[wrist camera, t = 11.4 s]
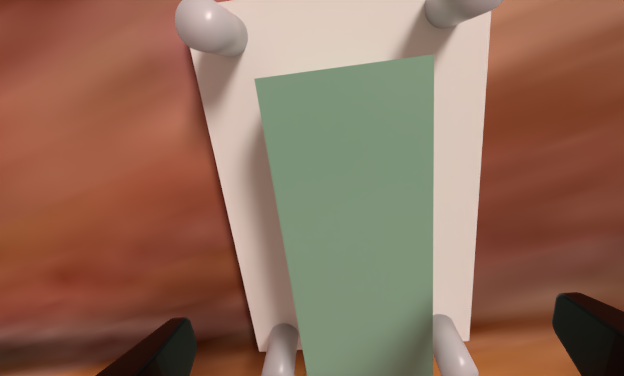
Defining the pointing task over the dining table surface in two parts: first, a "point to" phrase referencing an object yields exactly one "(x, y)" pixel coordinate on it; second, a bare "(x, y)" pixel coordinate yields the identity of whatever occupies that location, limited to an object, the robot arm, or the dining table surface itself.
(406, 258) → the green board
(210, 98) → the plate
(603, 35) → the dining table surface
